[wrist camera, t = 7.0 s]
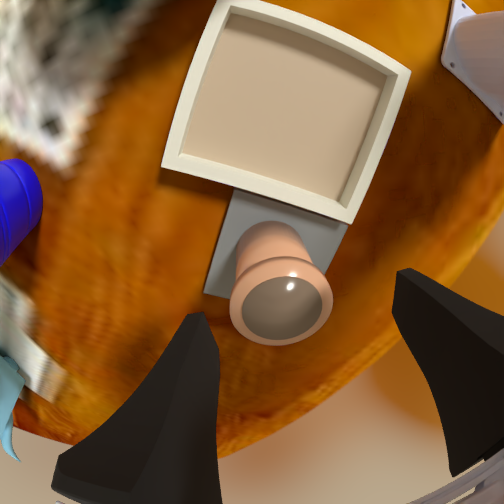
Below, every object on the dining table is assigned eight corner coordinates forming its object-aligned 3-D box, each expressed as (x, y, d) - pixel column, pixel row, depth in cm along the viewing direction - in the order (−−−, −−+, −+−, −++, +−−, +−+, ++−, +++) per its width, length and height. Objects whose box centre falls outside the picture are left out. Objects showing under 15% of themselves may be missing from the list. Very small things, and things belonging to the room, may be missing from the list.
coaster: (345, 222, 19) (348, 226, 18) (301, 310, 22) (302, 314, 22) (234, 187, 17) (234, 189, 17) (204, 288, 21) (203, 292, 20)
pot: (310, 215, 18) (341, 264, 12) (304, 282, 20) (325, 343, 15) (229, 217, 18) (226, 268, 12) (233, 285, 20) (232, 349, 15)
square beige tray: (397, 72, 14) (411, 71, 12) (342, 214, 19) (351, 224, 17) (222, 2, 11) (221, -9, 10) (168, 161, 16) (160, 166, 15)
